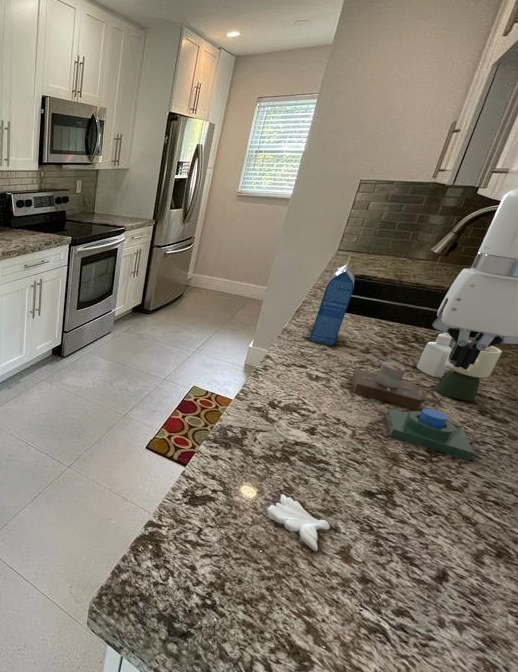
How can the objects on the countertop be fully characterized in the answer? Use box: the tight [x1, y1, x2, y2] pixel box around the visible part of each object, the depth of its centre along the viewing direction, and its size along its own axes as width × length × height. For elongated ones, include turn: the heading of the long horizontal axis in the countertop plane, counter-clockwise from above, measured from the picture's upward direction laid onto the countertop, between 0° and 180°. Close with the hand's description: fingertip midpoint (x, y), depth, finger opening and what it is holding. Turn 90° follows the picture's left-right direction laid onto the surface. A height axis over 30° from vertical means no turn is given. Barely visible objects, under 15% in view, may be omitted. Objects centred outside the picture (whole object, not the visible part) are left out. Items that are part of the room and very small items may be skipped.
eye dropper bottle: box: [416, 332, 453, 378], centre depth 103 cm, size 4×6×12 cm
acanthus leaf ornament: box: [266, 493, 331, 552], centre depth 59 cm, size 8×7×2 cm
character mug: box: [436, 339, 503, 402], centre depth 93 cm, size 11×7×13 cm, turn 136°
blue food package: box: [308, 256, 356, 347], centre depth 120 cm, size 6×12×25 cm, turn 140°
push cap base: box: [384, 408, 475, 461], centre depth 79 cm, size 11×9×4 cm
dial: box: [376, 361, 407, 388], centre depth 93 cm, size 4×4×5 cm
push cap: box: [418, 408, 449, 428], centre depth 78 cm, size 4×4×2 cm
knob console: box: [351, 368, 423, 411], centre depth 94 cm, size 11×9×3 cm
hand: (458, 365), depth 74 cm, fingers closed
